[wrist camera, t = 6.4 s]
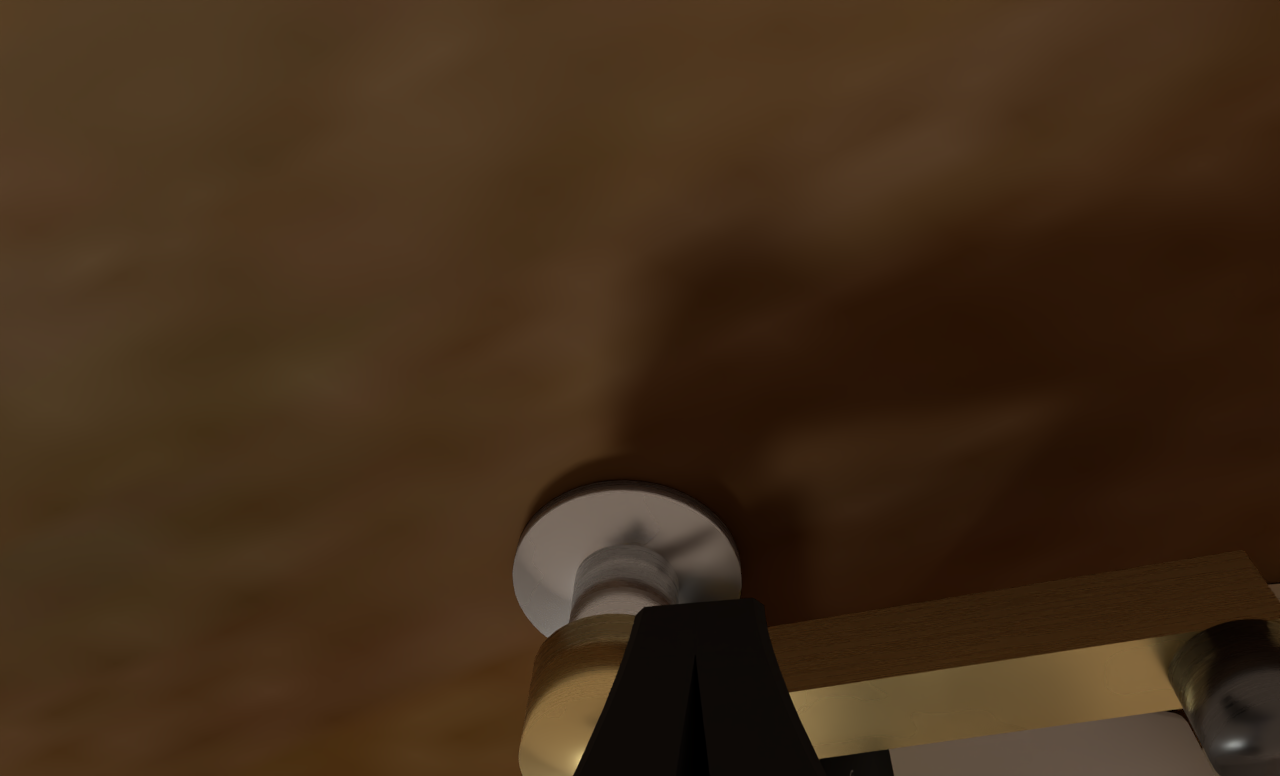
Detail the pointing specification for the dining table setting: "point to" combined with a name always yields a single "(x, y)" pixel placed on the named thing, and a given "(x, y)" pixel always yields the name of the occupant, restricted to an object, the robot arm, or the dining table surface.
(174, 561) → the dining table surface
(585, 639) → the brass drawer handle
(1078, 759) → the medicine bottle
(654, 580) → the pivot post
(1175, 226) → the dining table surface
